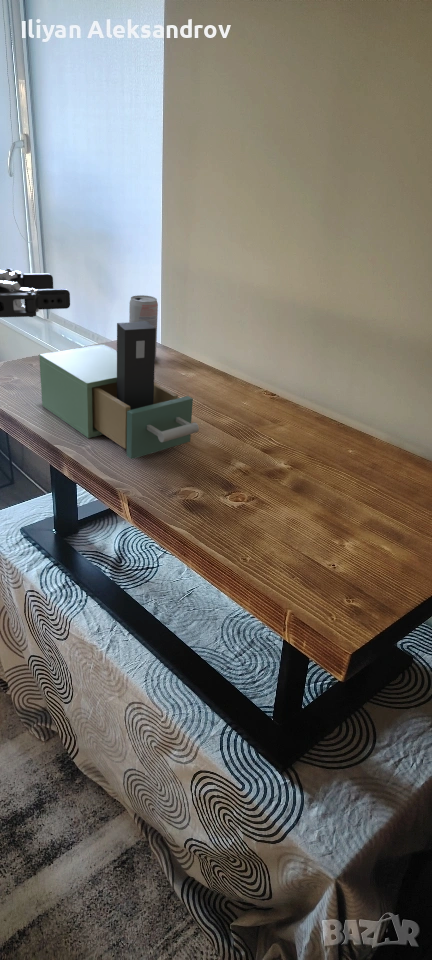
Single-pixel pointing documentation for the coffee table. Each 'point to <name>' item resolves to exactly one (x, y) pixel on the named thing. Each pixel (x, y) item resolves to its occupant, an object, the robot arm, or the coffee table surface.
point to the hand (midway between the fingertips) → (60, 290)
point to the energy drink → (144, 311)
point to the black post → (135, 363)
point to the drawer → (143, 420)
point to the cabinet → (76, 383)
